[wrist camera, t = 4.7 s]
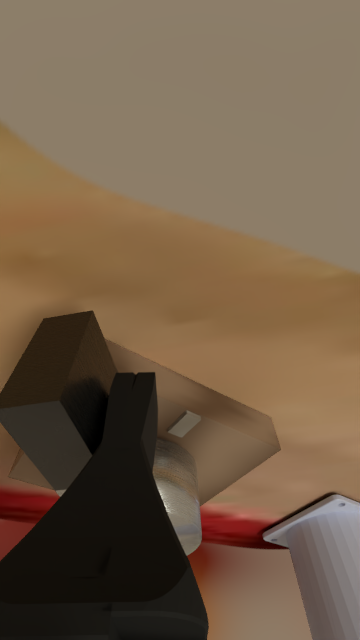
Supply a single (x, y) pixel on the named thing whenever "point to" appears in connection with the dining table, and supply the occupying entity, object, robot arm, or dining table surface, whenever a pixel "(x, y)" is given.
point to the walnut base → (192, 428)
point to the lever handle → (85, 416)
